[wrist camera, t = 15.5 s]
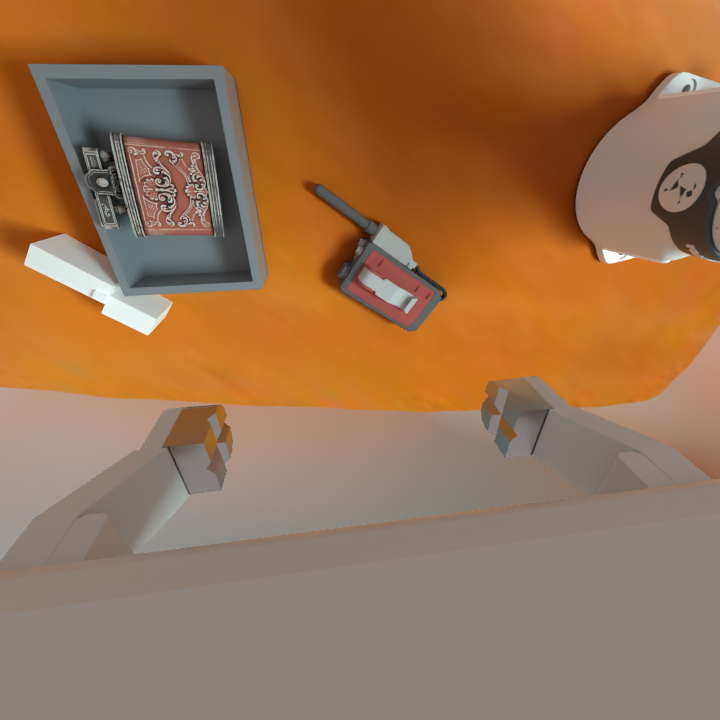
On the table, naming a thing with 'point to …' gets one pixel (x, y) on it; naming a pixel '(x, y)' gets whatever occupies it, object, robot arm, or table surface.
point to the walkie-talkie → (385, 272)
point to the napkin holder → (95, 281)
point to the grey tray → (166, 122)
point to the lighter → (156, 186)
